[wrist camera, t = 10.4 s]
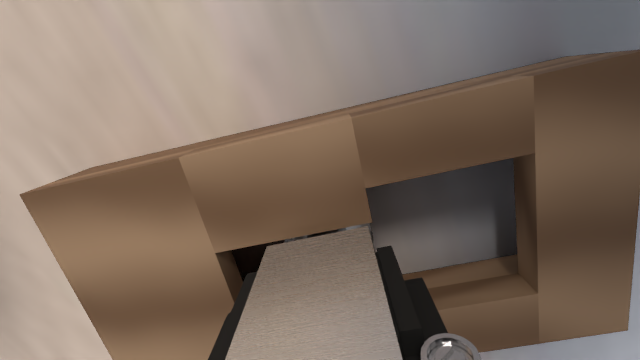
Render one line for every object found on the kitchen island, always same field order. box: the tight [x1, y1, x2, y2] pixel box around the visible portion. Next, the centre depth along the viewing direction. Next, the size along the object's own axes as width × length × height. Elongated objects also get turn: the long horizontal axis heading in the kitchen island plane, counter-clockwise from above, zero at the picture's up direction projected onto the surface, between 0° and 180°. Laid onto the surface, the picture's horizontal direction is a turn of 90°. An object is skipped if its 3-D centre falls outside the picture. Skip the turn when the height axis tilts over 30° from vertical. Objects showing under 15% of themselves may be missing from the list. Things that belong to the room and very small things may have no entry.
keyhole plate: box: [20, 50, 640, 360], centre depth 15 cm, size 12×24×4 cm, turn 103°
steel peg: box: [225, 223, 403, 360], centre depth 11 cm, size 4×4×12 cm
